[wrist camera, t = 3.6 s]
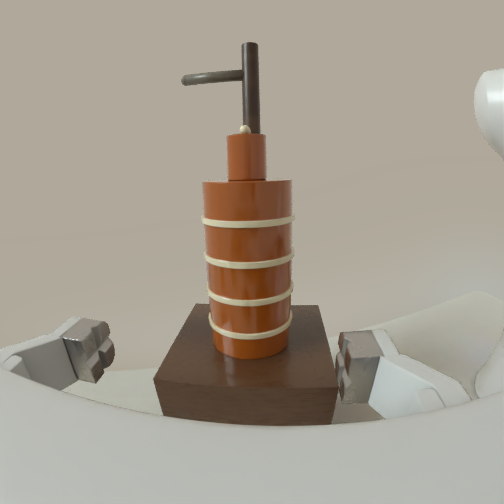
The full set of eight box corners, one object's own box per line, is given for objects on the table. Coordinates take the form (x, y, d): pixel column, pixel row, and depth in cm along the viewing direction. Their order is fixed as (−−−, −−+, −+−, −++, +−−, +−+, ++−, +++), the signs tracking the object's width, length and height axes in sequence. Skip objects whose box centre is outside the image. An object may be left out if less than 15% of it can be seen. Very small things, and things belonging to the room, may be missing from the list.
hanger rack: (316, 479, 20) (343, -21, 10) (182, 471, 21) (130, -3, 11) (309, 395, 31) (318, 50, 22) (206, 392, 32) (186, 56, 23)
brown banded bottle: (292, 361, 20) (296, 118, 15) (203, 358, 20) (186, 123, 16) (290, 319, 26) (291, 131, 21) (218, 317, 26) (209, 134, 22)
